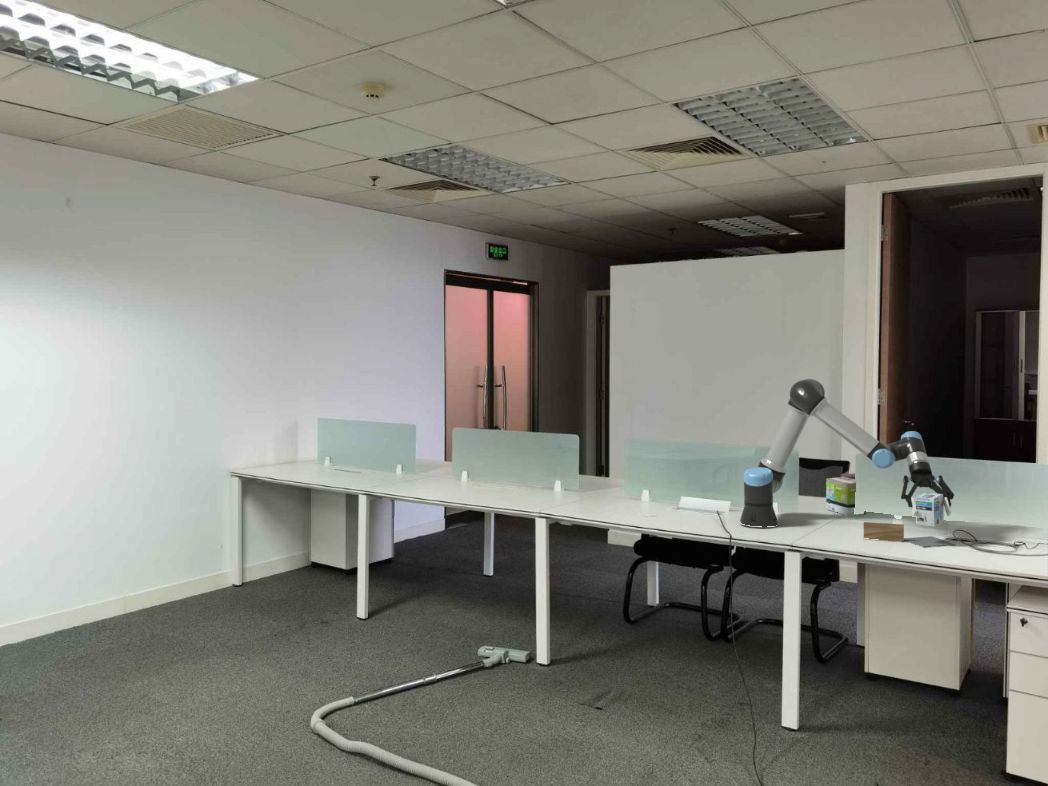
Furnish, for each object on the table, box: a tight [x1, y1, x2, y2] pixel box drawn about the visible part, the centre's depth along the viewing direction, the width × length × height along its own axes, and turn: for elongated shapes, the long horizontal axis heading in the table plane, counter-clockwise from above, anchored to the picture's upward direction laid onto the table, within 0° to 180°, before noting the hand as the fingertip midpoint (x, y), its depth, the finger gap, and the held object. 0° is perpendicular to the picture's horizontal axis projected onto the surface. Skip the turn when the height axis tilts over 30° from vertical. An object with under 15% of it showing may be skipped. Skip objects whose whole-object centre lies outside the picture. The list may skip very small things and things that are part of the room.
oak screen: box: [863, 521, 905, 543], centre depth 305 cm, size 1×14×6 cm, turn 65°
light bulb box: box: [915, 491, 945, 528], centre depth 300 cm, size 11×7×11 cm, turn 135°
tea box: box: [825, 476, 856, 517], centre depth 358 cm, size 15×10×15 cm, turn 17°
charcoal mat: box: [904, 535, 956, 548], centre depth 301 cm, size 13×13×1 cm
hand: (932, 513), depth 297 cm, fingers closed on light bulb box, 11 cm apart
